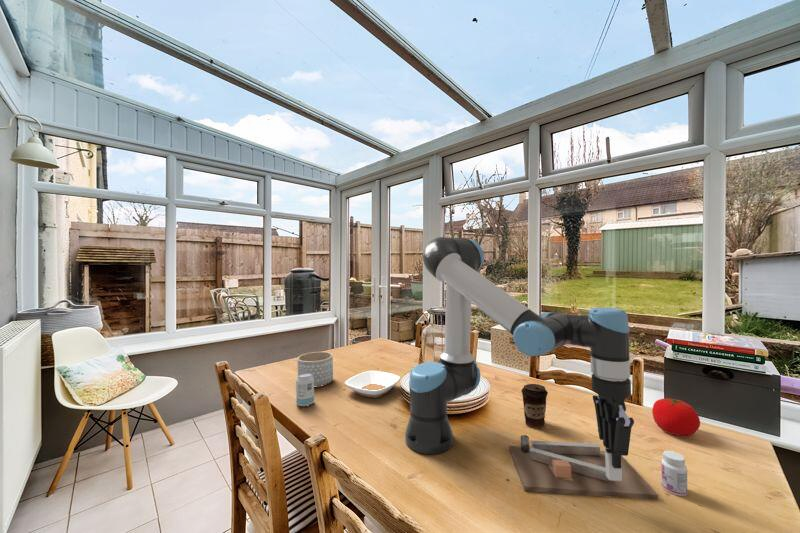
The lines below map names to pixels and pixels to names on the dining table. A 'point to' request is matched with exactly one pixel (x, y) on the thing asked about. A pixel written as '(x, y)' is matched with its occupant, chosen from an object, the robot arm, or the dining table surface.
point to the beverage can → (304, 389)
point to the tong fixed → (561, 447)
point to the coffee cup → (534, 405)
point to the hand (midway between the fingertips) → (613, 478)
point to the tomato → (675, 417)
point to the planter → (317, 366)
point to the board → (579, 478)
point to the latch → (562, 468)
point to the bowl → (372, 382)
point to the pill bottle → (674, 473)
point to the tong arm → (575, 464)
